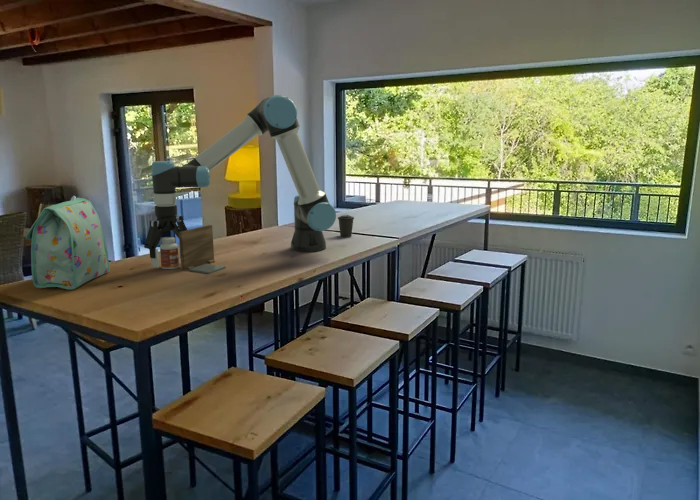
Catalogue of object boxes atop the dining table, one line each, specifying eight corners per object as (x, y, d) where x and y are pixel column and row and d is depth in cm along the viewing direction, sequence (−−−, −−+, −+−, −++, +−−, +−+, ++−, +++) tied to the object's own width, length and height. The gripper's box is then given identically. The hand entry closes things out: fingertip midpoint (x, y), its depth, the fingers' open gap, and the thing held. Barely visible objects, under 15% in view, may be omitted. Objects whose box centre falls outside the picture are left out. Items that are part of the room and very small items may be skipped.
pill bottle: (172, 270, 182) (170, 240, 180) (157, 269, 184) (155, 239, 182) (182, 266, 188) (180, 237, 186) (168, 264, 190) (166, 235, 187)
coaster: (225, 267, 186) (225, 266, 186) (209, 273, 178) (209, 272, 178) (206, 265, 190) (206, 263, 189) (189, 270, 182) (189, 269, 182)
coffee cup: (345, 238, 239) (345, 217, 237) (334, 236, 245) (334, 215, 243) (357, 236, 245) (357, 215, 242) (346, 233, 251) (346, 213, 248)
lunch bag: (69, 271, 180) (60, 195, 174) (115, 272, 180) (107, 196, 174) (27, 290, 158) (15, 204, 152) (79, 291, 158) (69, 205, 151)
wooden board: (216, 261, 196) (214, 225, 192) (187, 271, 181) (184, 232, 178) (208, 260, 197) (206, 224, 194) (178, 269, 183) (176, 231, 180)
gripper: (182, 200, 193) (186, 254, 198) (129, 208, 171) (135, 269, 176) (198, 201, 190) (201, 256, 195) (146, 210, 168) (151, 271, 173)
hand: (169, 262), depth 186 cm, fingers open, 13 cm apart
